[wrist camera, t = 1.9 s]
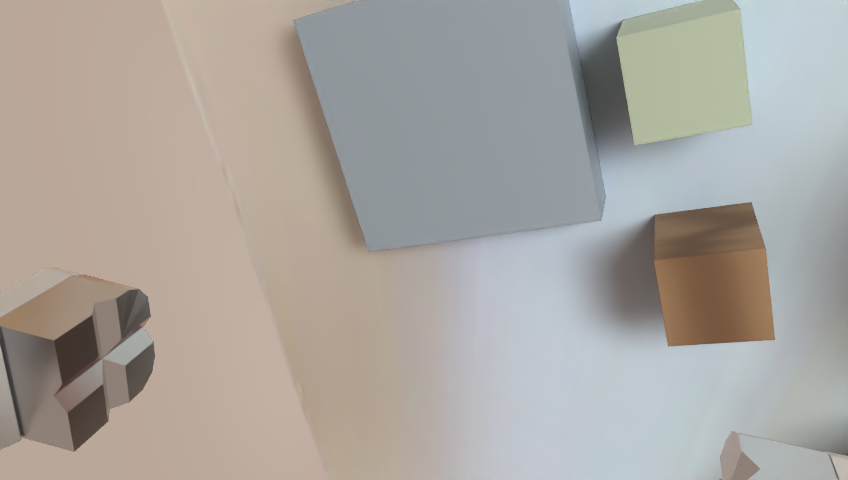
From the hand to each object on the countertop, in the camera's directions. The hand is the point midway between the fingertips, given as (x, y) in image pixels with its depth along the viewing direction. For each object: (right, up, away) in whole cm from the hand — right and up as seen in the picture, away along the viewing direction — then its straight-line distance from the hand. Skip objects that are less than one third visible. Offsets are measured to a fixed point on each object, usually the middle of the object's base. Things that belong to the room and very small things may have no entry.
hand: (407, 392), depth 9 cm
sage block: (+13, +12, +26) cm, 31 cm away
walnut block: (+16, +2, +30) cm, 34 cm away
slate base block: (+3, +10, +31) cm, 32 cm away
